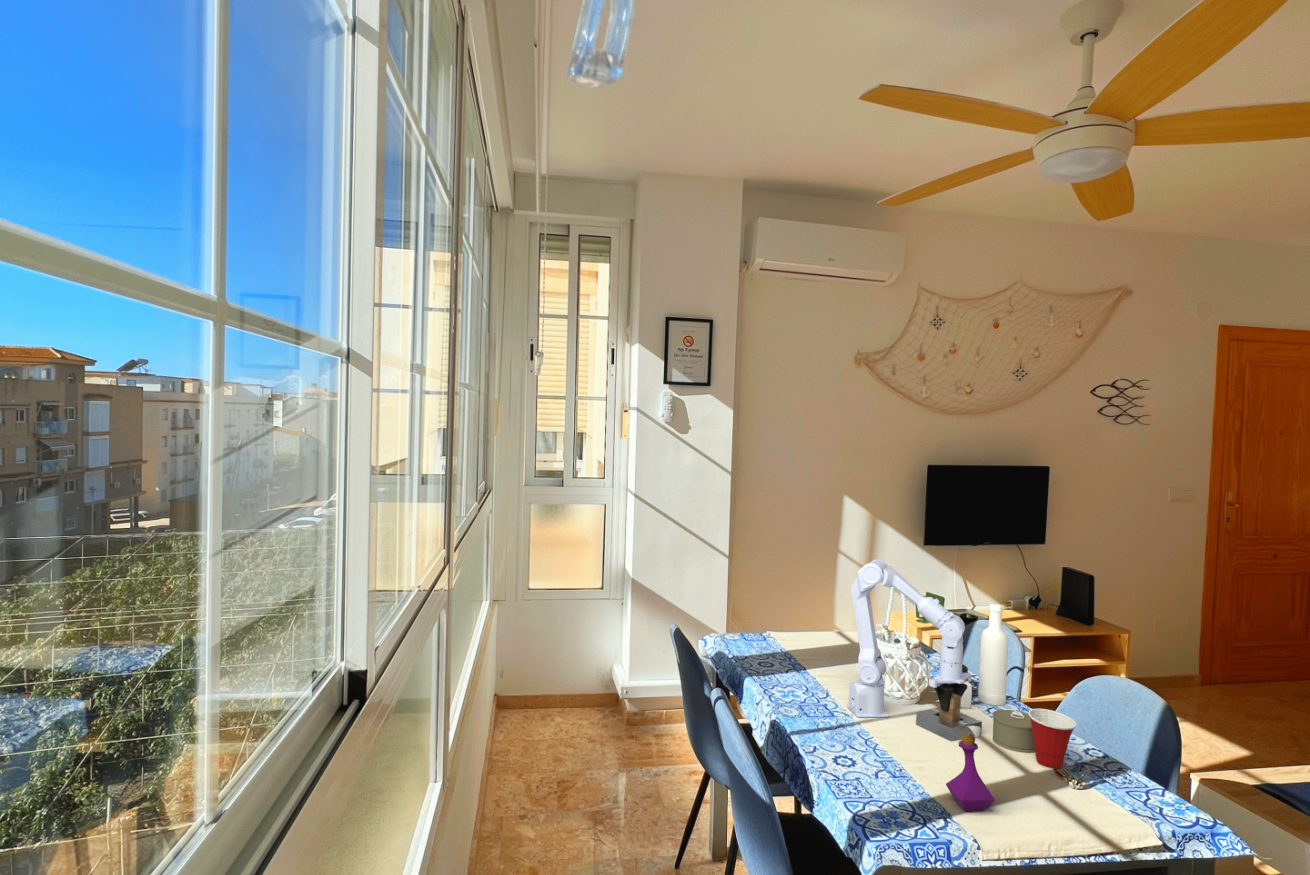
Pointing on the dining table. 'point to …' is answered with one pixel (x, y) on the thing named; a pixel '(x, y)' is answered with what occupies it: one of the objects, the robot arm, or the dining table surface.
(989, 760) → the dining table surface
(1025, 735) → the can
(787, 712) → the dining table surface
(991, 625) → the bottle
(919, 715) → the block with rectangular hole
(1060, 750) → the plastic cup
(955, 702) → the peg
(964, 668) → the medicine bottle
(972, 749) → the perfume bottle
